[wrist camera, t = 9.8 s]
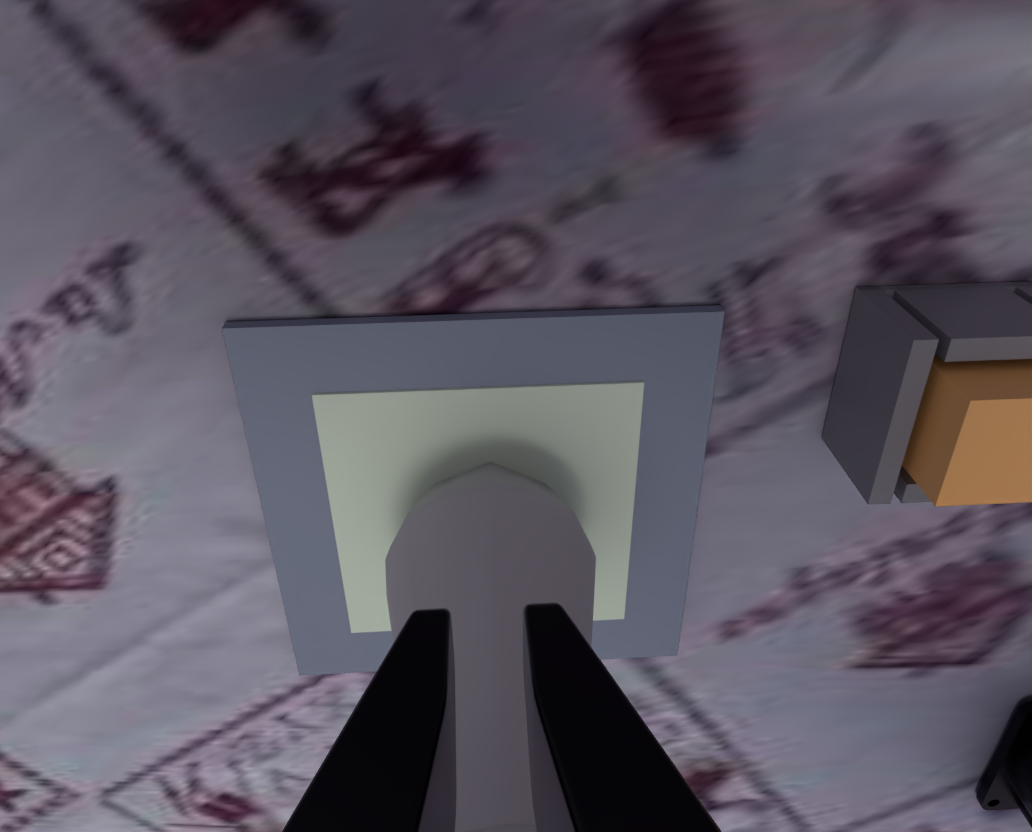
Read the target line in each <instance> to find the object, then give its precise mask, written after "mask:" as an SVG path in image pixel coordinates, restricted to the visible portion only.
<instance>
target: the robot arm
mask: <svg viewBox="0 0 1032 832" xmlns="http://www.w3.org/2000/svg"><path fill="white" fill-rule="evenodd" d="M523 672H524V688H525V703H526V718H527V733H528V748H529V764H530V779H531V791H532V801H533V810H534V817H535V823H536V829H537V832H721V830H720V829H719V827H718V826H717V824H716V823H715V822H714V820H713V819H712V817H711V816H710V815H709V813H708V812H707V810H706V809H705V807H704V806H703V805H702V803H701V802H700V800H699V799H698V798H697V796H696V795H695V793H694V792H693V790H692V789H691V788H690V786H689V785H688V783H687V782H686V781H685V779H684V778H683V776H682V775H681V773H680V772H679V771H678V769H677V768H676V766H675V765H674V764H673V762H672V761H671V759H670V758H669V757H668V755H667V754H666V752H665V751H664V749H663V748H662V747H661V745H660V744H659V742H658V741H657V740H656V738H655V737H654V735H653V734H652V732H651V731H650V730H649V728H648V727H647V725H646V724H645V723H644V721H643V720H642V718H641V717H640V715H639V714H638V713H637V711H636V710H635V708H634V707H633V706H632V704H631V703H630V701H629V700H628V698H627V697H626V696H625V694H624V693H623V691H622V690H621V689H620V687H619V686H618V684H617V683H616V681H615V680H614V679H613V677H612V676H611V674H610V673H609V672H608V670H607V669H606V667H605V666H604V664H603V663H602V662H601V660H600V659H599V657H598V656H597V655H596V653H595V652H594V650H593V649H592V648H591V646H590V645H589V643H588V642H587V640H586V639H585V638H584V636H583V635H582V633H581V632H580V631H579V629H578V628H577V626H576V625H575V623H574V622H573V621H572V619H571V618H570V616H569V615H568V614H567V612H566V611H565V609H564V608H563V607H562V606H561V605H560V604H558V603H534V604H527V605H526V606H525V607H524V608H523ZM456 791H457V788H456V706H455V661H454V647H453V633H452V619H451V613H450V611H449V610H448V609H446V608H434V609H418V610H415V611H413V612H412V613H411V615H410V616H409V618H408V619H407V621H406V623H405V624H404V626H403V628H402V629H401V631H400V633H399V634H398V636H397V638H396V640H395V641H394V643H393V645H392V646H391V648H390V650H389V651H388V653H387V655H386V656H385V658H384V660H383V662H382V663H381V665H380V667H379V668H378V670H377V672H376V673H375V675H374V677H373V678H372V680H371V682H370V684H369V685H368V687H367V689H366V690H365V692H364V694H363V695H362V697H361V699H360V700H359V702H358V704H357V706H356V707H355V709H354V711H353V712H352V714H351V716H350V717H349V719H348V721H347V722H346V724H345V726H344V727H343V729H342V731H341V733H340V734H339V736H338V738H337V739H336V741H335V743H334V744H333V746H332V748H331V749H330V751H329V753H328V755H327V756H326V758H325V760H324V761H323V763H322V765H321V766H320V768H319V770H318V771H317V773H316V775H315V777H314V778H313V780H312V782H311V783H310V785H309V787H308V788H307V790H306V792H305V793H304V795H303V797H302V799H301V800H300V802H299V804H298V805H297V807H296V809H295V810H294V812H293V814H292V815H291V817H290V819H289V820H288V822H287V824H286V826H285V827H284V829H283V831H282V832H455V821H456ZM976 798H977V800H978V801H979V803H980V805H981V806H982V808H983V809H985V810H1000V809H1016V808H1020V810H1021V811H1022V813H1023V814H1024V816H1025V818H1026V819H1027V821H1028V822H1029V824H1030V826H1031V827H1032V700H1031V701H1028V702H1026V703H1024V704H1023V705H1021V706H1020V708H1019V709H1018V711H1017V713H1016V715H1015V717H1014V719H1013V721H1012V723H1011V725H1010V728H1009V730H1008V732H1007V734H1006V736H1005V738H1004V740H1003V742H1002V744H1001V746H1000V748H999V750H998V752H997V754H996V756H995V758H994V760H993V763H992V765H991V767H990V769H989V771H988V773H987V775H986V777H985V779H984V781H983V783H982V785H981V787H980V789H979V791H978V793H977V796H976Z"/></svg>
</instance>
